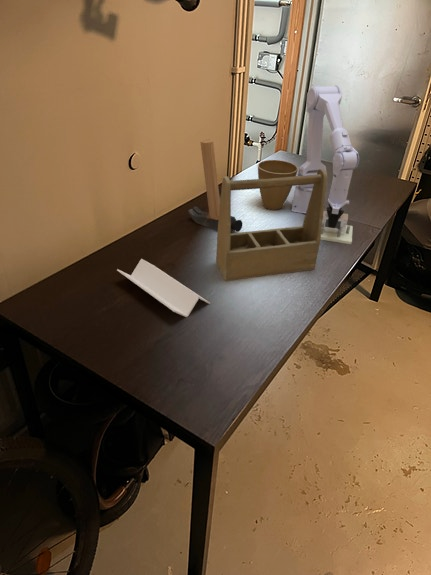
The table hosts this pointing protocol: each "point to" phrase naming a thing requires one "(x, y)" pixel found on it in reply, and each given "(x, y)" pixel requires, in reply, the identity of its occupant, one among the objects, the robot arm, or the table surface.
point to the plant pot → (275, 169)
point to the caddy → (270, 233)
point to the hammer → (211, 192)
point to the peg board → (338, 235)
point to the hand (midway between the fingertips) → (331, 224)
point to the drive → (340, 224)
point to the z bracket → (164, 288)
